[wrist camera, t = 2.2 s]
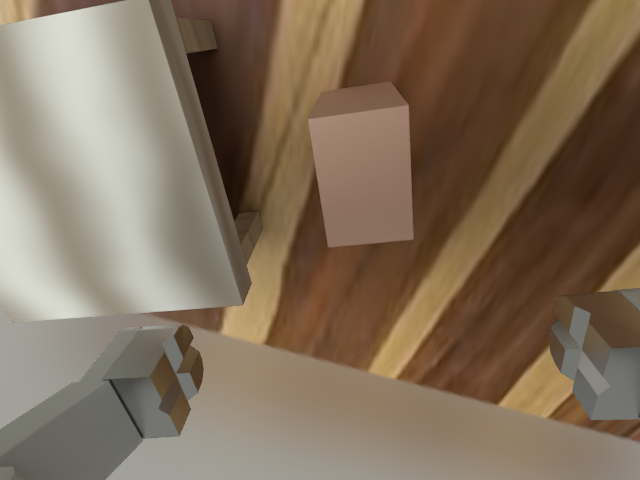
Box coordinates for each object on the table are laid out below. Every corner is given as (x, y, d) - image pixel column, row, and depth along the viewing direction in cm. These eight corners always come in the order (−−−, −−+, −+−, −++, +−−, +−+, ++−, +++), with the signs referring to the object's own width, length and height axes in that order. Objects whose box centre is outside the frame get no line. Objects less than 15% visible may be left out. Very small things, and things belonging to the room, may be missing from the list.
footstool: (217, 8, 20) (147, -4, 13) (271, 234, 27) (242, 305, 20) (-8, 50, 22) (-170, 58, 15) (94, 252, 29) (12, 322, 22)
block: (390, 81, 22) (408, 105, 15) (395, 180, 24) (413, 239, 17) (321, 91, 22) (307, 119, 15) (334, 187, 25) (328, 247, 18)
